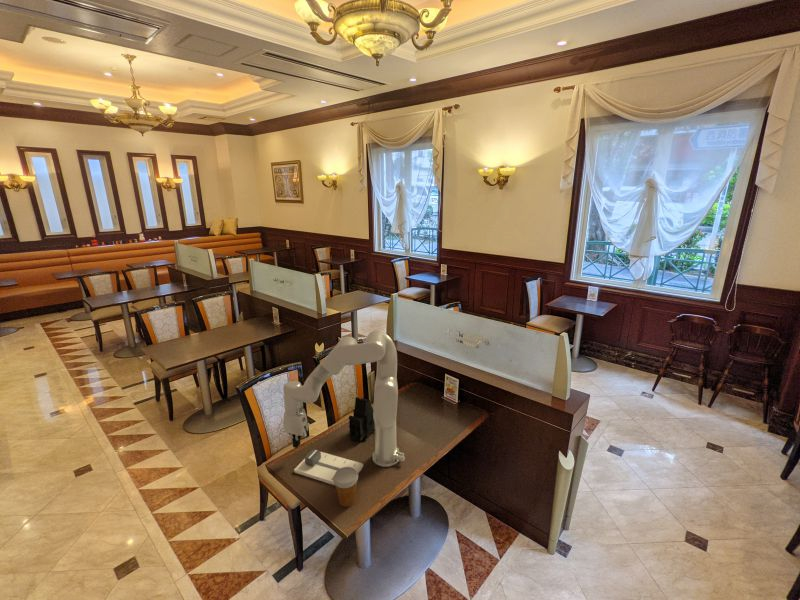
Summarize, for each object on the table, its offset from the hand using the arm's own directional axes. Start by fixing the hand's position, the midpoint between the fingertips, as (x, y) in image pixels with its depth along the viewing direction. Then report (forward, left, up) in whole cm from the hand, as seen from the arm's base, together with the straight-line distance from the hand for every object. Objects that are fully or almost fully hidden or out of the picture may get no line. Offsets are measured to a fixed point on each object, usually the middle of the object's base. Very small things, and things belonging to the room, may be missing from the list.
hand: (296, 445), depth 164 cm
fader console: (-16, 0, -8) cm, 18 cm away
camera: (-18, -26, -8) cm, 33 cm away
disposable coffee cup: (-32, +12, -8) cm, 35 cm away
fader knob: (-8, 0, -6) cm, 10 cm away
